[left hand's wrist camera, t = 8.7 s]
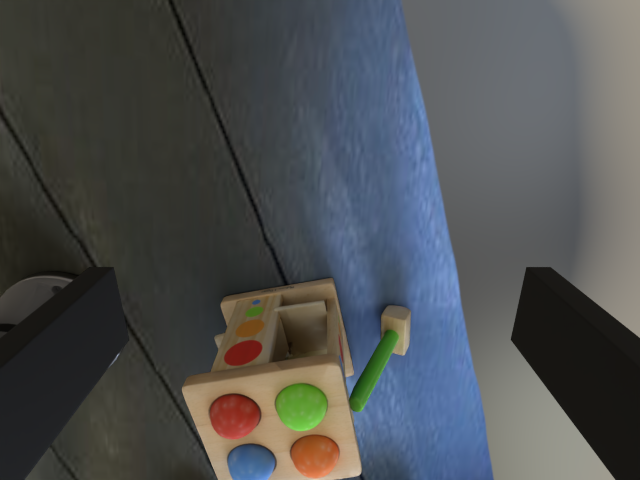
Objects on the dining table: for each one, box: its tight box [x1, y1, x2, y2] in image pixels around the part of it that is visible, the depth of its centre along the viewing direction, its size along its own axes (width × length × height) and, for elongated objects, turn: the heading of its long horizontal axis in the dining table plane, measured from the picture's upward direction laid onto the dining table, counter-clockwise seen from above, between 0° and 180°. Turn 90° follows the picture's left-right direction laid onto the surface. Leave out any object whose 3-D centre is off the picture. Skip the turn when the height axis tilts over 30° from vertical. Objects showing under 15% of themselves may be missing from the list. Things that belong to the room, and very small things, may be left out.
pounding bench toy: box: [182, 278, 411, 480], centre depth 43 cm, size 23×14×18 cm, turn 101°
